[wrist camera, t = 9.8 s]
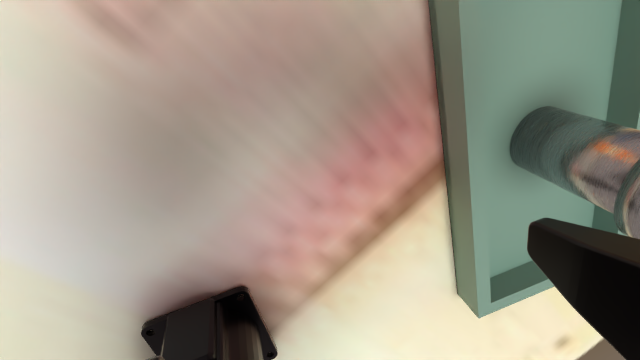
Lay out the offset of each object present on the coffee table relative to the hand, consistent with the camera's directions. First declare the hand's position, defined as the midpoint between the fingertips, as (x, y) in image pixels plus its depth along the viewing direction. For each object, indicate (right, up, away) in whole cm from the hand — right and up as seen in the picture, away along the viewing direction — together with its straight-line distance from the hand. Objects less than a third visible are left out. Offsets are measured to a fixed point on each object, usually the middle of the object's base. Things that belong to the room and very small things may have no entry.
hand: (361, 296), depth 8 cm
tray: (+12, +5, +14) cm, 20 cm away
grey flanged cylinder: (+13, +5, +14) cm, 19 cm away
